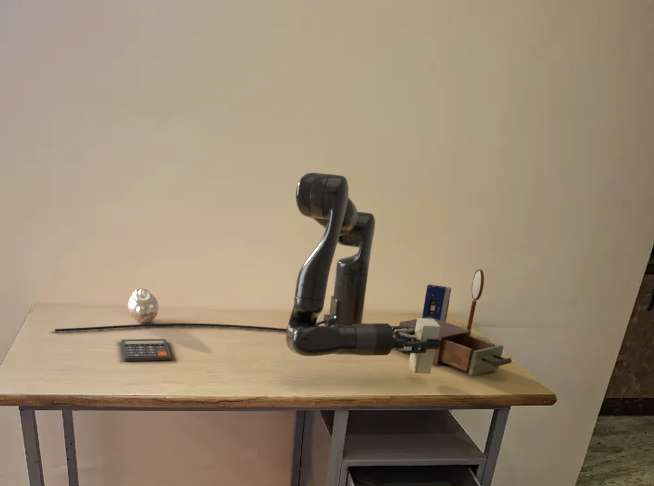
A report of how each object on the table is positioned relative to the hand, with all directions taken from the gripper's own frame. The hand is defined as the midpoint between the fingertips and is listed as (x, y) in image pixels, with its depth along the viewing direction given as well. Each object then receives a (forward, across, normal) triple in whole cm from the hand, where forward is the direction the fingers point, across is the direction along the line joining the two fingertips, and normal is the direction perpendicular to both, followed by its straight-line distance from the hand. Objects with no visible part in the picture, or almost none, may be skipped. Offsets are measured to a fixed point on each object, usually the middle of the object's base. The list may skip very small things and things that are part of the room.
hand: (433, 339), depth 171 cm
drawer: (+16, +7, +10) cm, 20 cm away
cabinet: (+10, +20, +11) cm, 24 cm away
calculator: (-68, +25, +11) cm, 73 cm away
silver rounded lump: (-67, +51, +12) cm, 85 cm away
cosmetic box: (-2, 0, +8) cm, 8 cm away
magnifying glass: (+28, +34, +11) cm, 45 cm away
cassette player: (+23, +48, +11) cm, 54 cm away
